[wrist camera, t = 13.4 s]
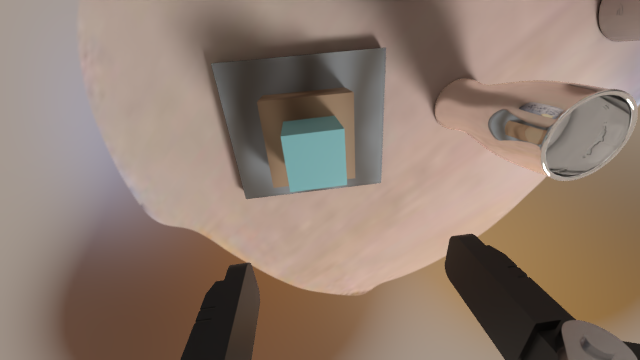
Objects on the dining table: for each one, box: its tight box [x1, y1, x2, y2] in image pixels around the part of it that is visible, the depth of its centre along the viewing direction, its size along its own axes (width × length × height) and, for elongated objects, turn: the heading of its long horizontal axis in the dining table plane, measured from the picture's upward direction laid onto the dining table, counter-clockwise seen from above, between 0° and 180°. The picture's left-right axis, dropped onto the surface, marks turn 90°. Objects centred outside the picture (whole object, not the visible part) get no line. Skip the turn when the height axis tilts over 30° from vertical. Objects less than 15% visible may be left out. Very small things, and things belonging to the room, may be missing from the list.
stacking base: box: [211, 48, 386, 199], centre depth 27 cm, size 18×16×6 cm
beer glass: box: [435, 78, 637, 181], centre depth 23 cm, size 7×7×15 cm
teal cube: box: [281, 116, 347, 192], centre depth 22 cm, size 5×5×5 cm
